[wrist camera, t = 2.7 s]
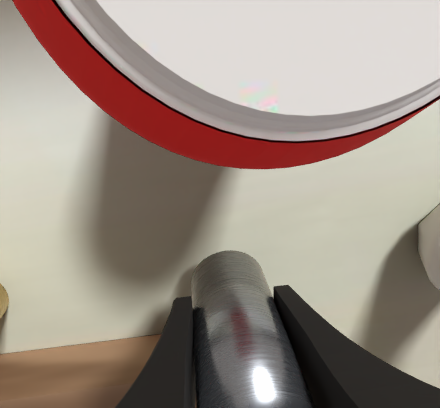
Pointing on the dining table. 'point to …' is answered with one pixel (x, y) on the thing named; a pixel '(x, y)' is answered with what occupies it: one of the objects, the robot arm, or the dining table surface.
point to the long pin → (241, 339)
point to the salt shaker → (430, 245)
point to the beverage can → (248, 71)
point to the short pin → (3, 301)
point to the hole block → (73, 374)
